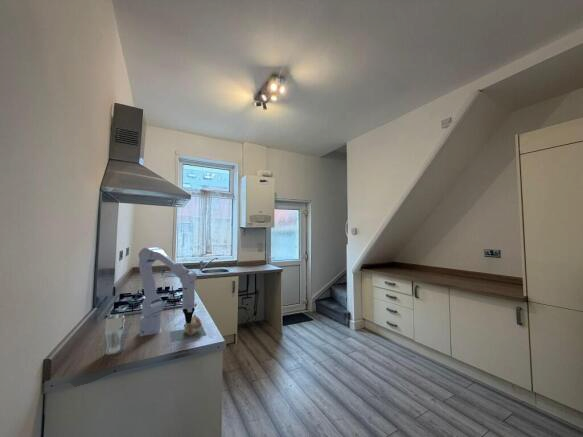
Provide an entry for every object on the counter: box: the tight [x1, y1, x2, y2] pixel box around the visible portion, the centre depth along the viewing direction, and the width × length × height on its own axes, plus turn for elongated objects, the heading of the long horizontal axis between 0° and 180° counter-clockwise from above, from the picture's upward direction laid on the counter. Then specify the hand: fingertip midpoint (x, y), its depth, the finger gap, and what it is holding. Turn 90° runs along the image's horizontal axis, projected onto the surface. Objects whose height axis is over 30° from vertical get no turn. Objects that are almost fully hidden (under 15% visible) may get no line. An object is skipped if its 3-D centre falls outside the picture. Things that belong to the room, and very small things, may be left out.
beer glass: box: [104, 313, 126, 356], centre depth 107 cm, size 7×7×15 cm
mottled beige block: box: [183, 314, 203, 336], centre depth 125 cm, size 4×9×7 cm
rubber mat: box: [169, 325, 207, 343], centre depth 124 cm, size 16×14×1 cm
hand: (188, 322), depth 124 cm, fingers closed, pressing on mottled beige block
